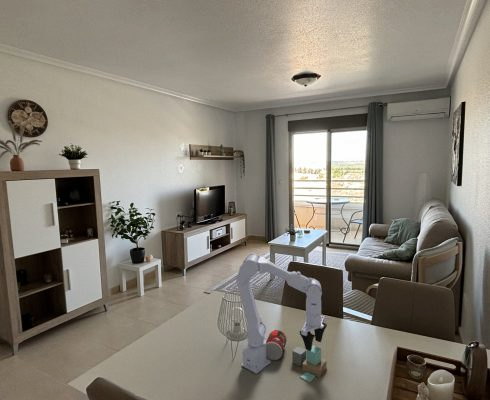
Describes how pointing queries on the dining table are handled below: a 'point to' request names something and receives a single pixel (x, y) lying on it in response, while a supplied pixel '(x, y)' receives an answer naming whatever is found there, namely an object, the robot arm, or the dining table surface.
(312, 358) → the teal block
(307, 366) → the walnut base
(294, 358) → the grey block
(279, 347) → the canned food
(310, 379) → the swatch
